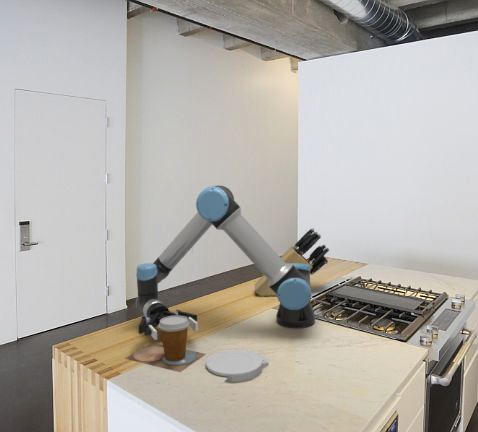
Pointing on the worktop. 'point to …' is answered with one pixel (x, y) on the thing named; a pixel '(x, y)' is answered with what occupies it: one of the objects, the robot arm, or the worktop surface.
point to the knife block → (298, 259)
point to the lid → (236, 364)
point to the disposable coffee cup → (174, 336)
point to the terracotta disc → (149, 354)
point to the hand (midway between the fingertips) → (176, 331)
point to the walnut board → (161, 363)
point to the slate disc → (189, 358)
